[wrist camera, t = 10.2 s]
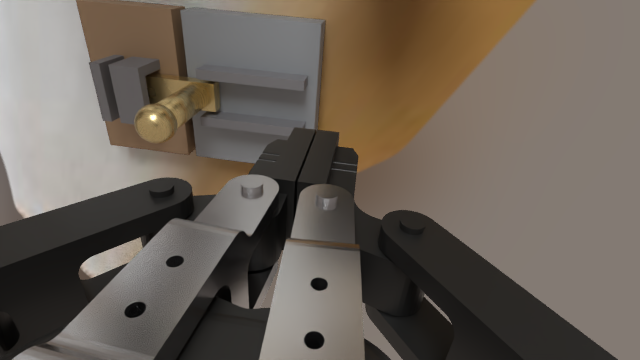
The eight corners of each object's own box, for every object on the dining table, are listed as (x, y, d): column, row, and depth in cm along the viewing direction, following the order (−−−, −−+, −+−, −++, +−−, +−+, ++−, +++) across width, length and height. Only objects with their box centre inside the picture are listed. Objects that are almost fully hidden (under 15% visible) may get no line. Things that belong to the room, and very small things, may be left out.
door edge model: (325, 20, 37) (314, 29, 31) (315, 159, 45) (305, 188, 39) (95, -2, 39) (44, 3, 33) (125, 135, 47) (88, 159, 41)
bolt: (218, 78, 38) (165, 114, 29) (220, 109, 40) (171, 152, 31) (137, 69, 39) (60, 101, 30) (143, 100, 41) (71, 139, 31)
